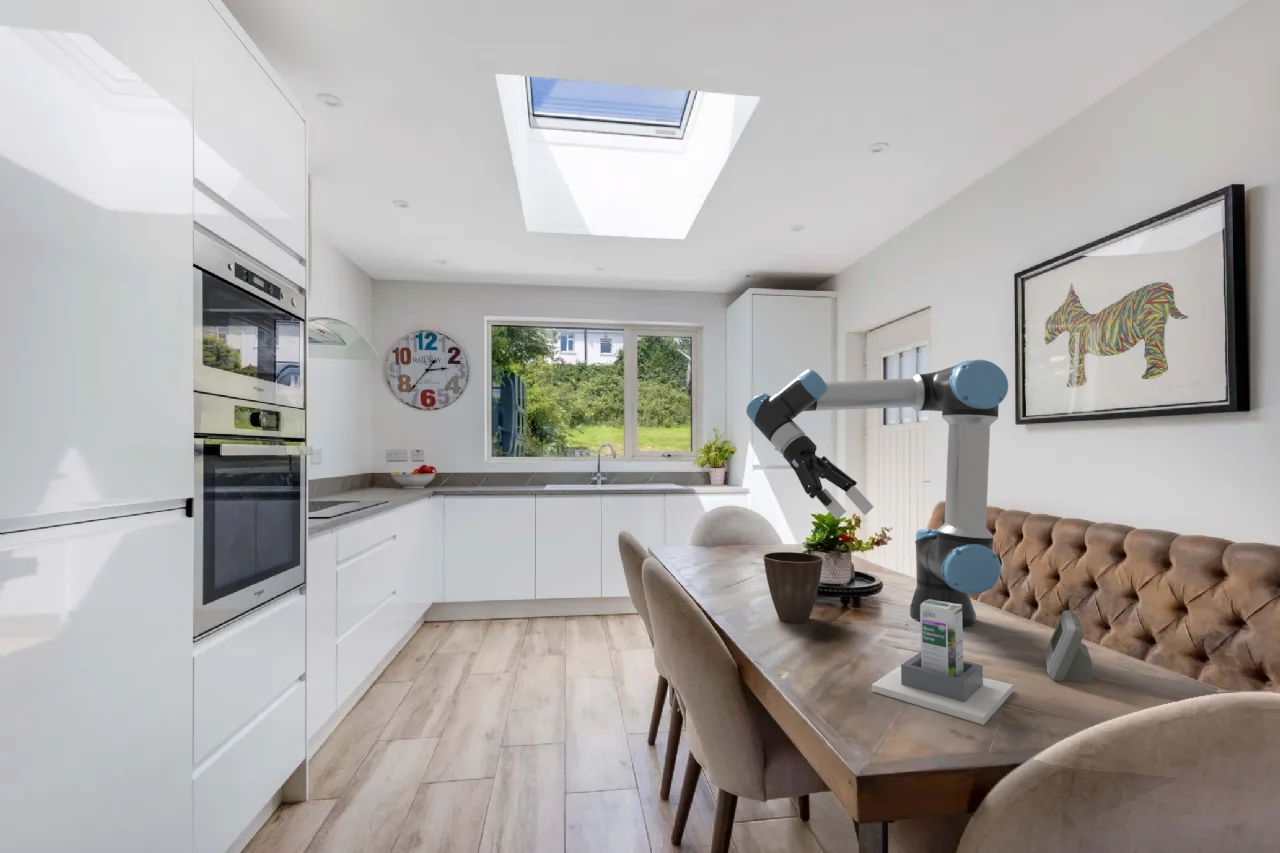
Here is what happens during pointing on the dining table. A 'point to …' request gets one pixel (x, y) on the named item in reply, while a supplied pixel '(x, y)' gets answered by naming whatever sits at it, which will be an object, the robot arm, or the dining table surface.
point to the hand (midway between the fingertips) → (855, 513)
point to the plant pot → (793, 583)
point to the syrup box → (941, 637)
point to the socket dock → (946, 690)
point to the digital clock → (1068, 651)
